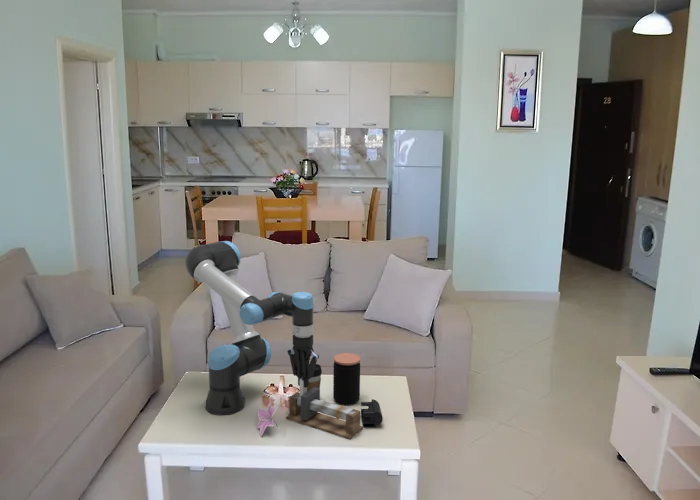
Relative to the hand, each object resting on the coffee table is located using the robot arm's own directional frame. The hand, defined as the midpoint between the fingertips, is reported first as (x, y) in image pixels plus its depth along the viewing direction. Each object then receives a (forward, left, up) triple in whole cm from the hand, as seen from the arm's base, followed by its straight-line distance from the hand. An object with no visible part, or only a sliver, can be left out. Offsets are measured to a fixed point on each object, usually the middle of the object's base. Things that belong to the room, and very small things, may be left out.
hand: (303, 394), depth 225 cm
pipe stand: (+9, 0, -9) cm, 13 cm away
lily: (-6, -14, -10) cm, 18 cm away
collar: (+3, 0, -7) cm, 8 cm away
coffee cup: (-5, +12, -10) cm, 16 cm away
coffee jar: (+6, +21, -10) cm, 24 cm away
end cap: (+23, +11, -10) cm, 27 cm away
